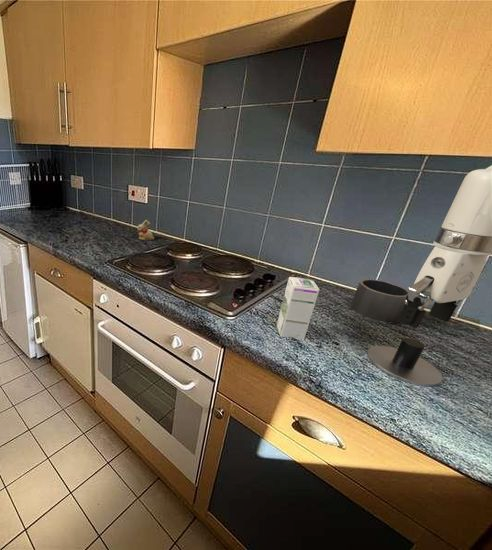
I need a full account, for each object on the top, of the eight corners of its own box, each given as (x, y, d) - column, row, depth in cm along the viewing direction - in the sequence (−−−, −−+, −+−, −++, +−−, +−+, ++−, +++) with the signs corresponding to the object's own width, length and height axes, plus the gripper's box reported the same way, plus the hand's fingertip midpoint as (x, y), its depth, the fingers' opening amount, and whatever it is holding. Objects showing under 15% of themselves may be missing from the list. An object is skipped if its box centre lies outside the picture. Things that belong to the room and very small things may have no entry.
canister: (355, 300, 96) (365, 275, 93) (401, 314, 88) (413, 288, 85) (345, 311, 89) (355, 285, 85) (394, 328, 81) (407, 300, 78)
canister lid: (372, 343, 75) (382, 320, 72) (442, 370, 66) (456, 345, 64) (359, 365, 67) (370, 340, 64) (437, 398, 58) (453, 371, 56)
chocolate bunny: (141, 236, 154) (142, 216, 150) (155, 239, 150) (156, 219, 146) (135, 238, 149) (136, 218, 145) (149, 241, 145) (150, 221, 141)
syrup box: (304, 341, 74) (322, 289, 68) (278, 337, 75) (293, 285, 70) (299, 329, 79) (314, 279, 73) (274, 325, 81) (288, 275, 75)
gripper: (461, 250, 49) (416, 337, 56) (520, 245, 54) (472, 325, 61) (409, 237, 55) (374, 317, 62) (466, 233, 61) (428, 307, 68)
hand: (422, 321), depth 62 cm, fingers open, 9 cm apart
